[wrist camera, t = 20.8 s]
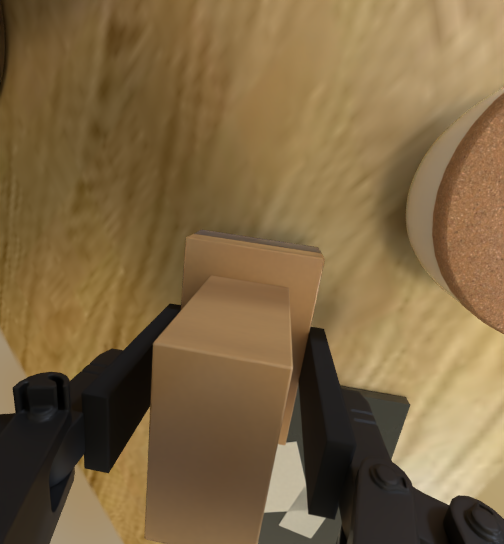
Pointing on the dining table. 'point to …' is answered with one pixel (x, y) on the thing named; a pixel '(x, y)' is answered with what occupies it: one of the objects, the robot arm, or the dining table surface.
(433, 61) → the dining table surface
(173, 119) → the dining table surface
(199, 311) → the wooden stepped block
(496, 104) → the trinket box
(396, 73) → the dining table surface
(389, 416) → the slate board
